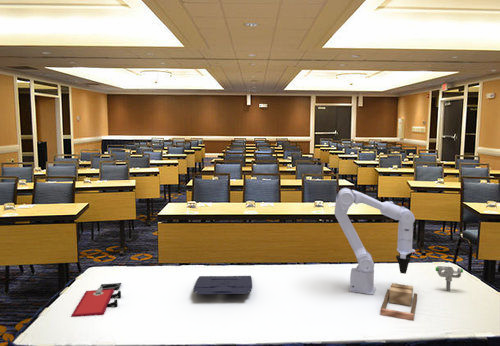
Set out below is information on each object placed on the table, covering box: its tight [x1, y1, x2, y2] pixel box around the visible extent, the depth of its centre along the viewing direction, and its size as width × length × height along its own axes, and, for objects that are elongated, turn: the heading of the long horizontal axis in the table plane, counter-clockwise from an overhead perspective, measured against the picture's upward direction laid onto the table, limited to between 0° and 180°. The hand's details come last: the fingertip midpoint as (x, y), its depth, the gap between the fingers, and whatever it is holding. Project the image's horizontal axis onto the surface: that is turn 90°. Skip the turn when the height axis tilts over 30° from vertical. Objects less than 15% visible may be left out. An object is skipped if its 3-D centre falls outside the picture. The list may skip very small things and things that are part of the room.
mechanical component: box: [435, 265, 464, 292], centre depth 176 cm, size 3×10×10 cm, turn 79°
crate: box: [388, 282, 414, 307], centre depth 166 cm, size 8×8×6 cm
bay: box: [379, 288, 418, 321], centre depth 162 cm, size 11×21×2 cm, turn 155°
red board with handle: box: [71, 282, 122, 318], centre depth 169 cm, size 30×3×15 cm
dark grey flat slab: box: [193, 275, 253, 295], centre depth 179 cm, size 24×30×4 cm
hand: (403, 270), depth 174 cm, fingers open, 6 cm apart
